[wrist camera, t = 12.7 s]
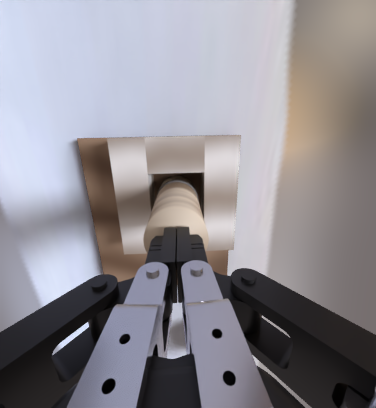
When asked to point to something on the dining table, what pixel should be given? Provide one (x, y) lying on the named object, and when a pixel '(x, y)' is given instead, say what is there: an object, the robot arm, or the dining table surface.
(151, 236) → the peg
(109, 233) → the socket board
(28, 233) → the dining table surface
